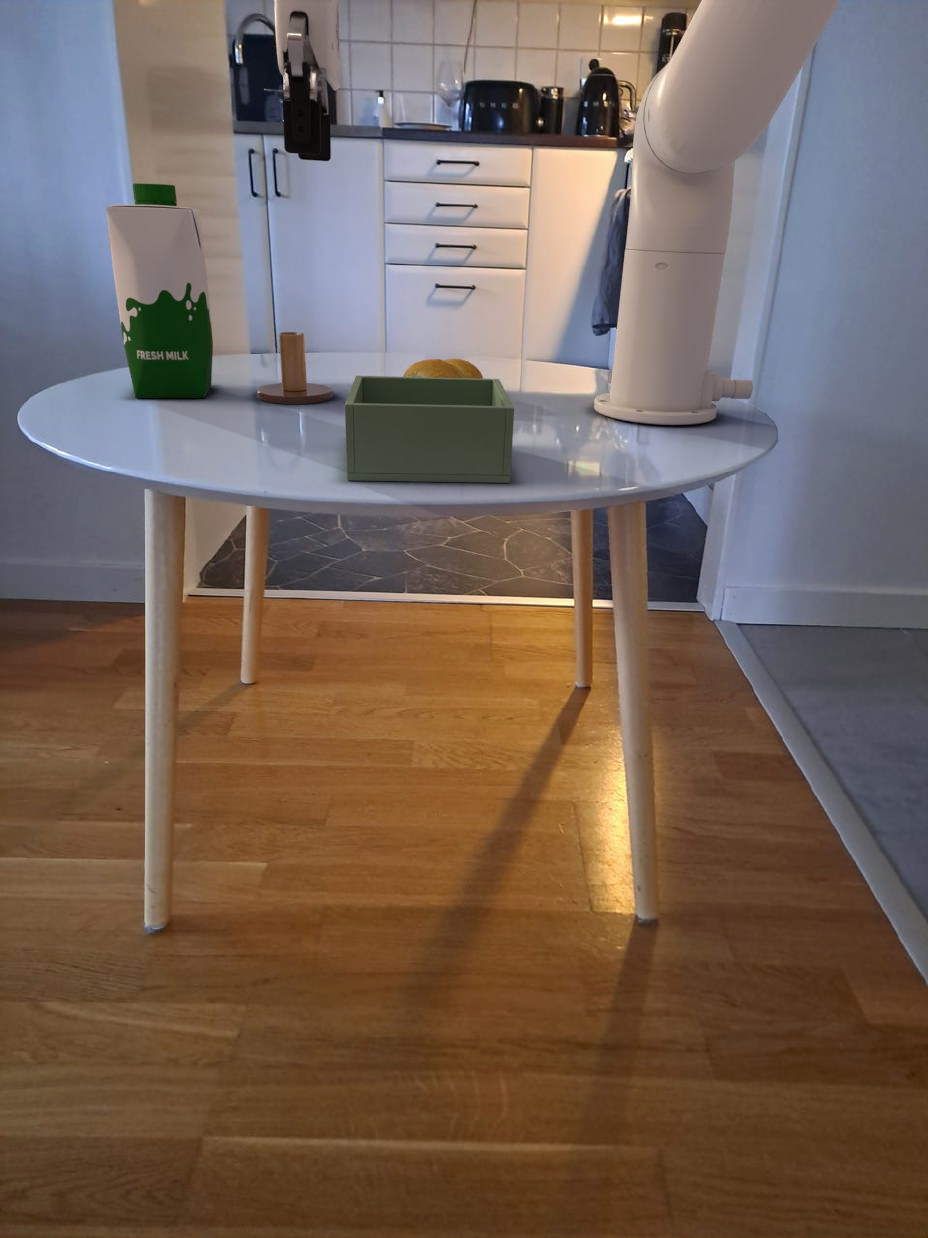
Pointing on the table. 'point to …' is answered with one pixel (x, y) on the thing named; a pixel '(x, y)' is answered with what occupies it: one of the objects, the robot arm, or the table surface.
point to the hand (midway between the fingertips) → (309, 156)
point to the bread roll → (443, 369)
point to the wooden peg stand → (293, 376)
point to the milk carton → (162, 293)
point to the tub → (428, 430)
